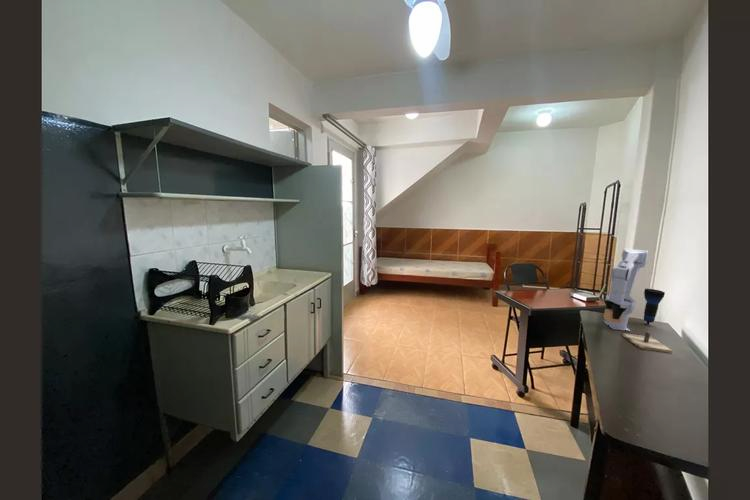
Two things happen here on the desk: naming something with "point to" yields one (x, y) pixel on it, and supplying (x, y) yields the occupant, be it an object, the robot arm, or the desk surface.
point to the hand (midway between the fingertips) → (612, 316)
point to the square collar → (611, 316)
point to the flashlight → (652, 303)
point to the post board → (647, 342)
